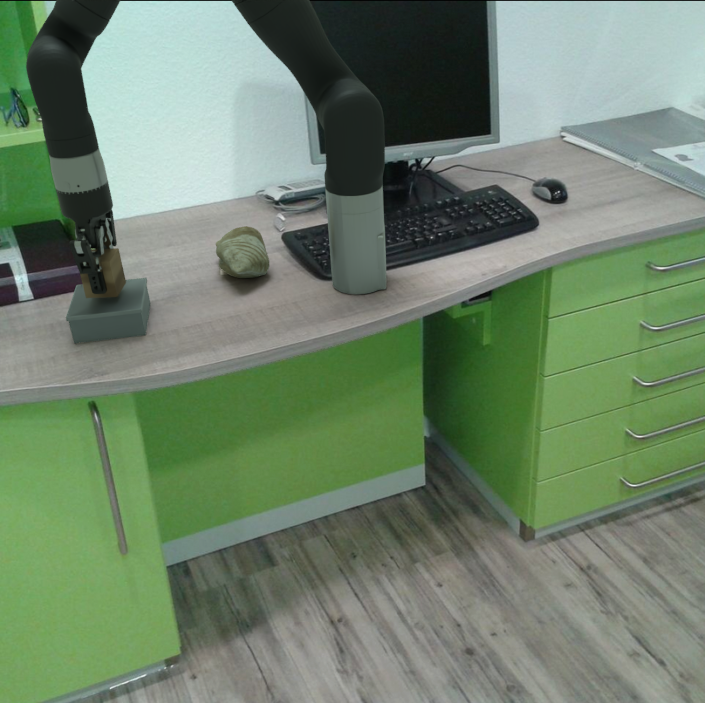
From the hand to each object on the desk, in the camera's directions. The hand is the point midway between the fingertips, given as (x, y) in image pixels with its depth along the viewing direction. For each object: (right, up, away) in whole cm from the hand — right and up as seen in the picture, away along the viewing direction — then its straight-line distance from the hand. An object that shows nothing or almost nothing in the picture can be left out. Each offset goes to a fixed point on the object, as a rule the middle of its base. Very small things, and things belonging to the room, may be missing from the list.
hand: (105, 284), depth 131 cm
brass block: (0, -1, 0) cm, 1 cm away
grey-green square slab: (0, -6, +4) cm, 7 cm away
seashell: (+19, +3, +17) cm, 26 cm away
